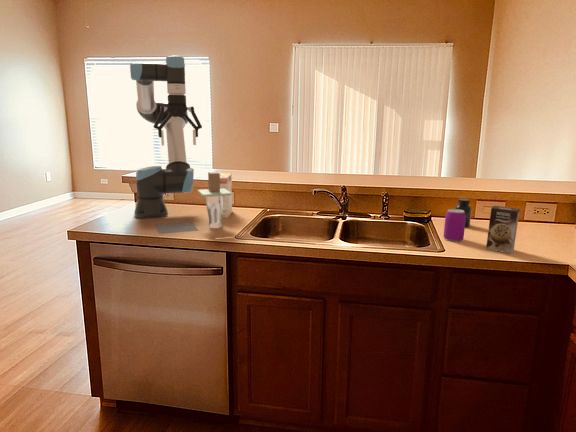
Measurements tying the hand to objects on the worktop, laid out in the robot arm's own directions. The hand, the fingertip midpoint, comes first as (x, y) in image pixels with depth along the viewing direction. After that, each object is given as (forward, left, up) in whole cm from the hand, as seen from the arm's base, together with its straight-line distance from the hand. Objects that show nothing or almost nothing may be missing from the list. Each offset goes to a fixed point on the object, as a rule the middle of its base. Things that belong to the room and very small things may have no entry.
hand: (178, 145), depth 191 cm
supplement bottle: (+46, +119, -35) cm, 132 cm away
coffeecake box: (-9, +21, -35) cm, 42 cm away
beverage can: (+63, +99, -35) cm, 122 cm away
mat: (+10, -4, -35) cm, 36 cm away
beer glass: (+14, +12, -35) cm, 39 cm away
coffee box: (+80, +106, -35) cm, 137 cm away
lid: (+14, +12, -20) cm, 27 cm away
